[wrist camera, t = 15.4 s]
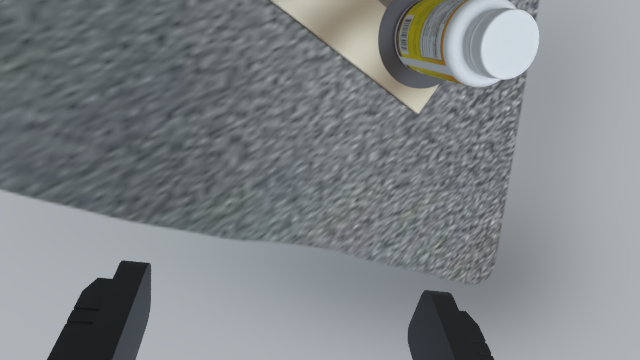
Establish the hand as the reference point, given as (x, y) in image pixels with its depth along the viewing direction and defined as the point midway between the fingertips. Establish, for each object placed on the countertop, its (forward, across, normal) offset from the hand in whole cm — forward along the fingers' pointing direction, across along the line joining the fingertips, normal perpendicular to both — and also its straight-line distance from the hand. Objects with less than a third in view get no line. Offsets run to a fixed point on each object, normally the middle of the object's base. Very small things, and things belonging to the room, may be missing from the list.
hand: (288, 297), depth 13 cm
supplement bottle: (+26, -10, -3) cm, 28 cm away
